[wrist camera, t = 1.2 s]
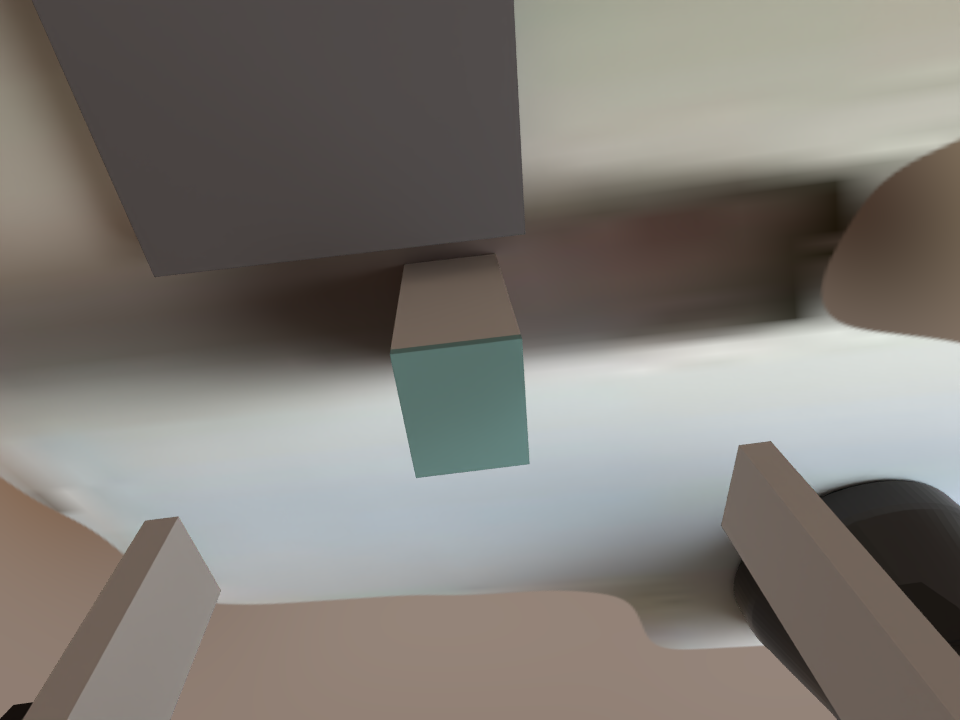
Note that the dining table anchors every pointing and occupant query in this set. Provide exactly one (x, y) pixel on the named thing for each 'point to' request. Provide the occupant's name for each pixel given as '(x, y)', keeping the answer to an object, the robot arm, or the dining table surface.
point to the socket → (298, 123)
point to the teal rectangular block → (459, 367)
